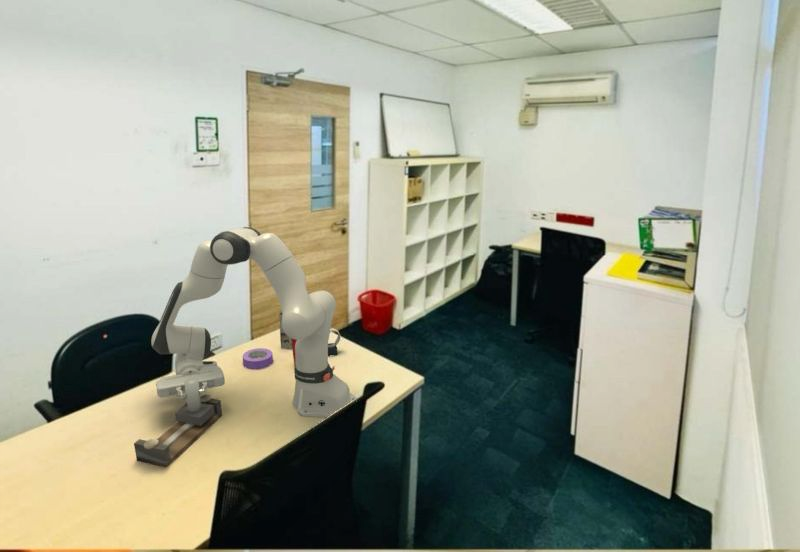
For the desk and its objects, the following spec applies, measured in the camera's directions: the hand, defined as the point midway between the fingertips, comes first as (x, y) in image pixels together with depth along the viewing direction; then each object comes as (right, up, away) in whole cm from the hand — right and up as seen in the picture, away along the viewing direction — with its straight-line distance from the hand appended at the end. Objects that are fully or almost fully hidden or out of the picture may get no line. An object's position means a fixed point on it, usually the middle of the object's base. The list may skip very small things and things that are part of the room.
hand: (193, 394), depth 146 cm
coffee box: (+16, +7, +61) cm, 63 cm away
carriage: (-1, -8, +3) cm, 9 cm away
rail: (-2, -13, -2) cm, 13 cm away
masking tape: (+7, +2, +44) cm, 45 cm away
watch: (+35, +4, +54) cm, 65 cm away
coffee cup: (+25, +1, +43) cm, 50 cm away
